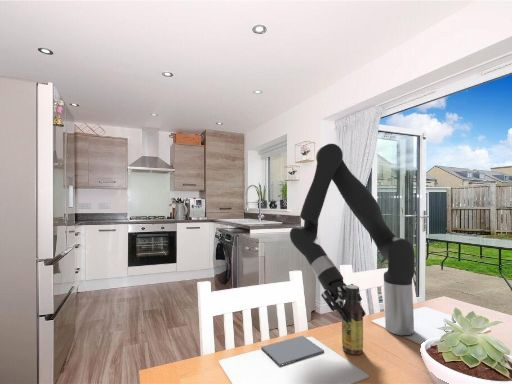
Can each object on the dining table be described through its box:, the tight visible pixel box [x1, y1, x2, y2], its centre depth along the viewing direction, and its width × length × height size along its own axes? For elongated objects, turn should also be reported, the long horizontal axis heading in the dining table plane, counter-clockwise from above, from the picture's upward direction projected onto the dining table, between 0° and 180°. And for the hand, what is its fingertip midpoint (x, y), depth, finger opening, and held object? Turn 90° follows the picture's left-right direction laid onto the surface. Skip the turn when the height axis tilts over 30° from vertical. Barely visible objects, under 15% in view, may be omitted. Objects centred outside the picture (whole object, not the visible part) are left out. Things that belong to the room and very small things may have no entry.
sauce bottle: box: [341, 284, 364, 356], centre depth 86 cm, size 6×6×20 cm
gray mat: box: [261, 335, 325, 366], centre depth 86 cm, size 16×11×1 cm
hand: (356, 318), depth 85 cm, fingers closed on sauce bottle, 6 cm apart
